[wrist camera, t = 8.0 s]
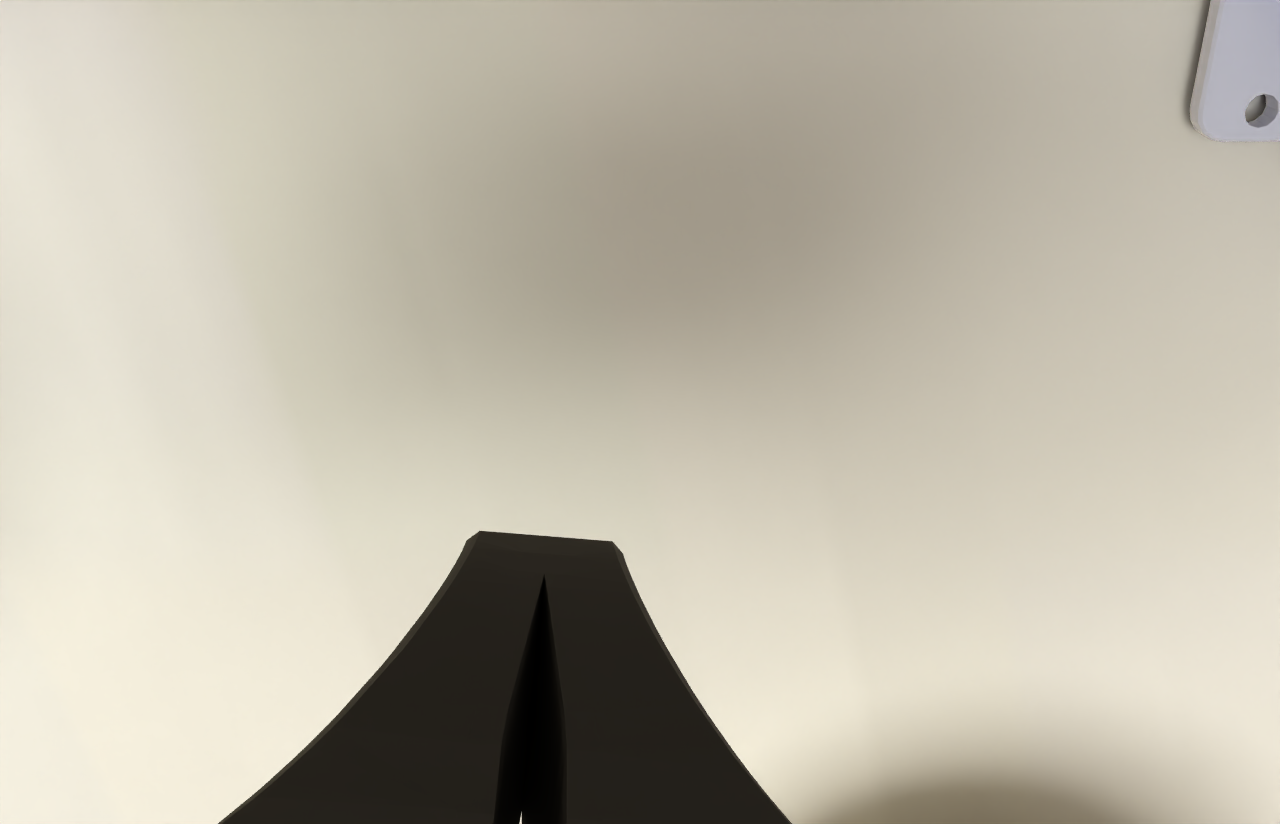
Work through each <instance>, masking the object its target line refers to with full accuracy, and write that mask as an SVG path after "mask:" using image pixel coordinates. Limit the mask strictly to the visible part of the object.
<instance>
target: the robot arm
mask: <svg viewBox="0 0 1280 824" xmlns="http://www.w3.org/2000/svg"><path fill="white" fill-rule="evenodd" d="M1263 94H1264V95H1265V97H1266V107H1265V109H1264V111H1263V113H1262V114H1261V115H1260V116H1259V117H1258V118H1257V119H1256V120H1253V121H1250V122H1247V121H1246V119H1245V110H1246V108H1247V106H1248V104H1249V102H1250V101H1252V100H1253V99H1254V98H1255V97H1256V96H1259V95H1263ZM1190 120H1191V122H1192V124H1193V126H1194V129H1195V130H1197V131H1198V132H1199V133H1201V134H1202V135H1203V136H1205V137H1207V138H1209V139H1211V140H1215V141H1220V142H1266V141H1280V0H1211V2H1210V7H1209V12H1208V17H1207V23H1206V28H1205V33H1204V38H1203V43H1202V48H1201V53H1200V58H1199V63H1198V69H1197V74H1196V79H1195V84H1194V89H1193V94H1192V99H1191V104H1190ZM521 811H522V824H792V823H791V822H790V821H789V820H788V819H787V818H786V816H785V815H784V814H783V813H782V812H781V810H780V809H779V808H778V807H777V806H776V805H775V803H774V802H773V801H772V800H771V799H770V797H769V796H768V795H767V794H766V793H765V791H764V790H763V789H762V788H761V786H760V785H759V784H758V783H757V781H756V780H755V779H754V778H753V776H752V775H751V774H750V773H749V771H748V770H747V769H746V767H745V766H744V765H743V763H742V762H741V761H740V759H739V758H738V757H737V755H736V754H735V753H734V751H733V750H732V748H731V747H730V746H729V744H728V743H727V741H726V740H725V738H724V737H723V736H722V734H721V733H720V731H719V730H718V728H717V727H716V726H715V724H714V723H713V721H712V720H711V718H710V717H709V716H708V714H707V713H706V711H705V709H704V708H703V706H702V705H701V703H700V702H699V700H698V699H697V697H696V696H695V694H694V693H693V691H692V689H691V688H690V686H689V684H688V683H687V681H686V679H685V678H684V676H683V674H682V673H681V671H680V669H679V668H678V666H677V664H676V662H675V661H674V659H673V657H672V656H671V654H670V652H669V651H668V649H667V647H666V646H665V644H664V642H663V640H662V638H661V636H660V635H659V633H658V631H657V629H656V627H655V625H654V623H653V621H652V619H651V617H650V615H649V613H648V612H647V610H646V608H645V606H644V604H643V602H642V599H641V597H640V595H639V593H638V591H637V589H636V586H635V584H634V582H633V580H632V577H631V575H630V572H629V570H628V567H627V565H626V562H625V559H624V556H623V553H622V552H621V551H620V550H619V549H618V547H617V546H616V545H615V544H614V543H613V542H612V541H599V540H587V539H575V538H562V537H550V536H537V535H525V534H513V533H500V532H488V531H479V532H478V533H476V534H475V535H474V536H472V537H471V538H470V539H468V540H467V541H466V543H465V546H464V548H463V550H462V552H461V554H460V556H459V558H458V560H457V561H456V563H455V565H454V567H453V568H452V570H451V572H450V573H449V575H448V577H447V578H446V580H445V581H444V583H443V585H442V586H441V587H440V589H439V590H438V592H437V593H436V595H435V596H434V598H433V599H432V601H431V602H430V604H429V605H428V607H427V608H426V609H425V611H424V612H423V613H422V615H421V616H420V617H419V619H418V620H417V621H416V623H415V624H414V625H413V626H412V628H411V629H410V630H409V632H408V633H407V634H406V636H405V637H404V638H403V639H402V641H401V642H400V643H399V645H398V646H397V647H396V649H395V650H394V651H393V652H392V654H391V655H390V656H389V657H388V659H387V660H386V661H385V662H384V663H383V665H382V666H381V667H380V668H379V669H378V670H377V671H376V673H375V674H374V675H373V676H372V677H371V678H370V679H369V680H368V682H367V683H366V684H365V685H364V686H363V687H362V688H361V689H360V690H359V692H358V693H357V694H356V695H355V696H354V697H353V698H352V699H351V700H350V702H349V703H348V704H347V705H346V706H345V707H344V708H343V709H342V711H341V712H340V713H339V714H338V715H337V716H336V717H335V718H334V719H333V720H332V721H331V722H330V723H329V724H328V725H327V726H326V727H325V728H324V729H323V730H322V731H321V732H320V733H319V734H318V735H317V736H316V737H315V738H314V739H313V740H312V741H311V742H310V743H309V744H308V745H307V746H306V747H305V748H304V749H303V750H302V751H301V752H300V753H299V754H298V755H297V756H296V757H295V758H294V759H293V760H292V761H290V762H289V763H288V764H287V765H286V766H285V767H284V768H283V769H282V770H281V771H279V772H278V773H277V774H276V775H275V776H274V777H273V778H272V779H271V780H270V781H268V782H267V783H266V784H265V785H264V786H263V787H262V788H261V789H259V790H258V791H257V792H256V793H255V794H254V795H252V796H251V797H250V798H249V799H248V800H246V801H245V802H244V803H243V804H241V805H240V806H239V807H238V808H237V809H235V810H234V811H233V812H232V813H230V814H229V815H228V816H227V817H225V818H224V819H223V820H222V821H221V822H219V823H218V824H519V822H520V817H521Z"/></svg>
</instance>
